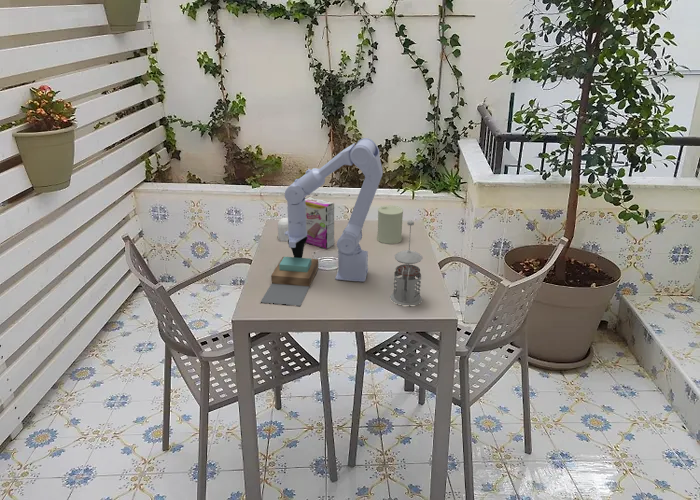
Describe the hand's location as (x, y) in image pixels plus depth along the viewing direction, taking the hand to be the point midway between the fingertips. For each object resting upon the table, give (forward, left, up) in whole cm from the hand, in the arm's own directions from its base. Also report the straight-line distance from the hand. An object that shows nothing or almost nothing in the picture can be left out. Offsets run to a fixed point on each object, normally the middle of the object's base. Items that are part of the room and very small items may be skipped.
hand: (298, 259), depth 185 cm
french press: (-36, +14, -4) cm, 39 cm away
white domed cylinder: (+11, -25, -4) cm, 28 cm away
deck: (0, +4, -4) cm, 6 cm away
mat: (0, +17, -4) cm, 17 cm away
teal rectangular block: (0, +4, -1) cm, 4 cm away
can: (-27, -31, -4) cm, 41 cm away
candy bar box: (-2, -22, -4) cm, 23 cm away
